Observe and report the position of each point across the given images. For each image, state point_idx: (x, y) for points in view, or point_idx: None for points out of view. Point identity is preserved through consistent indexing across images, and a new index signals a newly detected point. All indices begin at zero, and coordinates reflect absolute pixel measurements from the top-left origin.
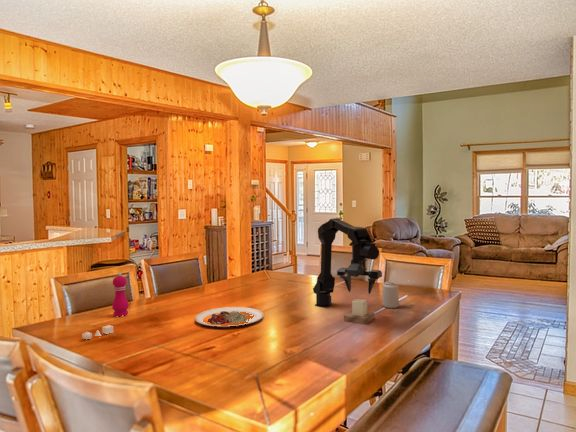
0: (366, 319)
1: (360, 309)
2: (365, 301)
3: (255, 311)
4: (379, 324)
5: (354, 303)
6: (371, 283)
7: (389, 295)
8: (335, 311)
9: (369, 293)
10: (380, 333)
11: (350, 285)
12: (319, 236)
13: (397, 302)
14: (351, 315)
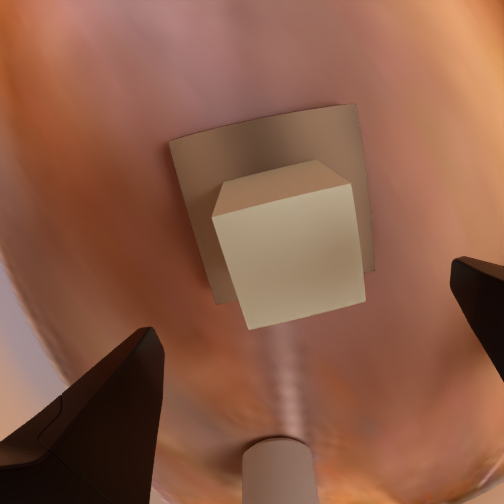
0: (174, 155)
1: (245, 188)
2: (235, 286)
3: None
4: (116, 201)
5: (316, 184)
6: (15, 437)
7: (266, 488)
8: (474, 255)
9: (136, 330)
10: (26, 73)
11: (493, 348)
12: None
13: (242, 472)
14: (312, 142)
